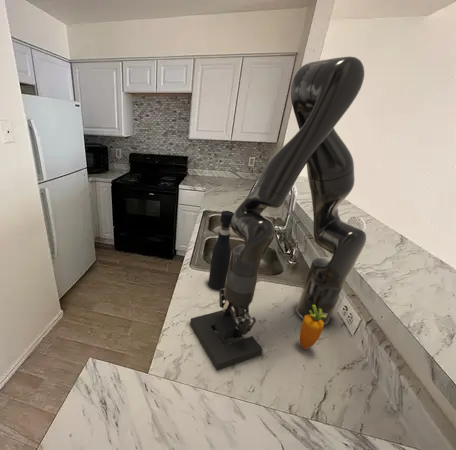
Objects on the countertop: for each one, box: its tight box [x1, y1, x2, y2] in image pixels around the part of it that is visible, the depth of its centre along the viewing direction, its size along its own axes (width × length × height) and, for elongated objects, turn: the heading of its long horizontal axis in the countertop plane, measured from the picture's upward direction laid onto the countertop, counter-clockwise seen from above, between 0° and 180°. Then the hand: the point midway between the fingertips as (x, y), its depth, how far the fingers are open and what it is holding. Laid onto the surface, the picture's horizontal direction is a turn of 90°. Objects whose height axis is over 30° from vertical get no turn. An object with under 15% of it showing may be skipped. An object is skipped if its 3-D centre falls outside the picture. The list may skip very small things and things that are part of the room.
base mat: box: [189, 309, 264, 371], centre depth 74 cm, size 14×16×2 cm
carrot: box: [299, 305, 326, 350], centre depth 69 cm, size 5×5×15 cm
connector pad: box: [215, 314, 249, 341], centre depth 74 cm, size 8×5×4 cm, turn 109°
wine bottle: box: [208, 210, 234, 292], centre depth 90 cm, size 6×6×30 cm
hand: (231, 329), depth 74 cm, fingers closed on connector pad, 5 cm apart
